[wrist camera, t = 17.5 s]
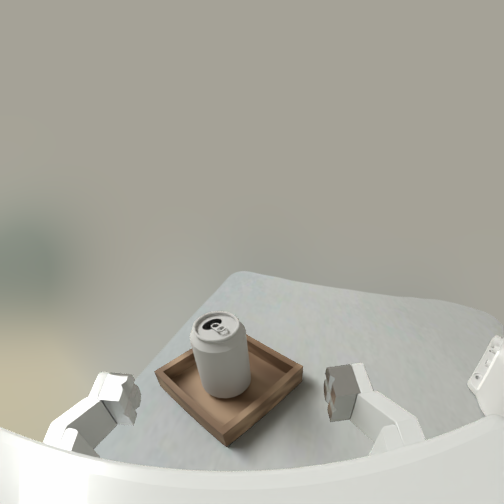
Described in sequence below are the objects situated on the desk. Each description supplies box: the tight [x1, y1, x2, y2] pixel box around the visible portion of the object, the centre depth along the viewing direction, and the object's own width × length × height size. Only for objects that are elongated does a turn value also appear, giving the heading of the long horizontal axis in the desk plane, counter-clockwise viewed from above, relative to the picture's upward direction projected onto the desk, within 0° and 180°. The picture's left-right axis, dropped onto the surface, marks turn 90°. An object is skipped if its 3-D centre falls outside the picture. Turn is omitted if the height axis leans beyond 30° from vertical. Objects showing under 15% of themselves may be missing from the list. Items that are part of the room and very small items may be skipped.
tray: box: [154, 334, 303, 447], centre depth 44 cm, size 16×16×4 cm
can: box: [190, 311, 251, 398], centre depth 42 cm, size 8×8×12 cm
